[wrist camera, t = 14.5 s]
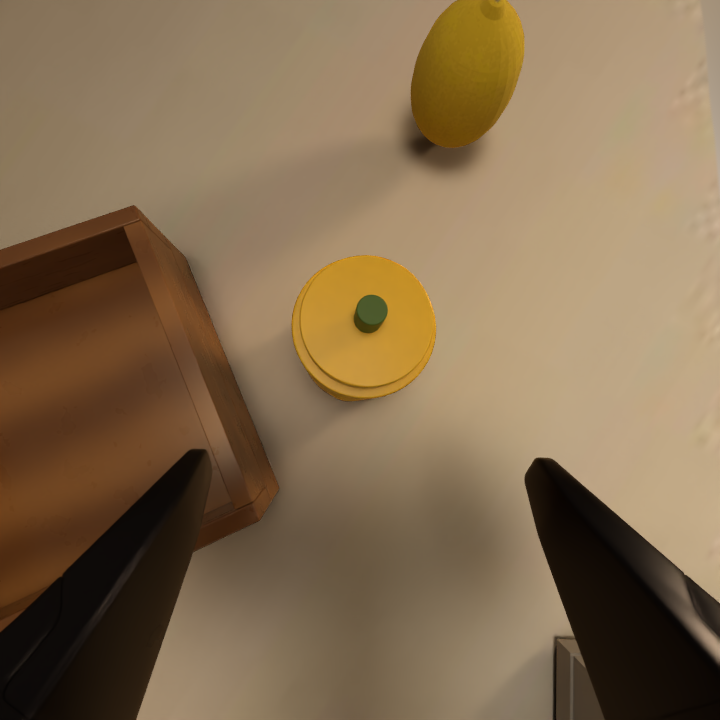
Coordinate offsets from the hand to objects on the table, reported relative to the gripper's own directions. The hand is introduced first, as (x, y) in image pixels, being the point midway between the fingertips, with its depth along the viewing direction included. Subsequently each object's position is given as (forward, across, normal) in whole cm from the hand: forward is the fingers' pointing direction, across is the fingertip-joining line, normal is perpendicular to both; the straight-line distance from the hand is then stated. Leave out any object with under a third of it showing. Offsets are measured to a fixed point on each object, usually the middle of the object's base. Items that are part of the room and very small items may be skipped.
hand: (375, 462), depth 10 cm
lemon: (+22, -5, -6) cm, 23 cm away
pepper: (+11, 0, +4) cm, 12 cm away
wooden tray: (+8, +13, +7) cm, 17 cm away
